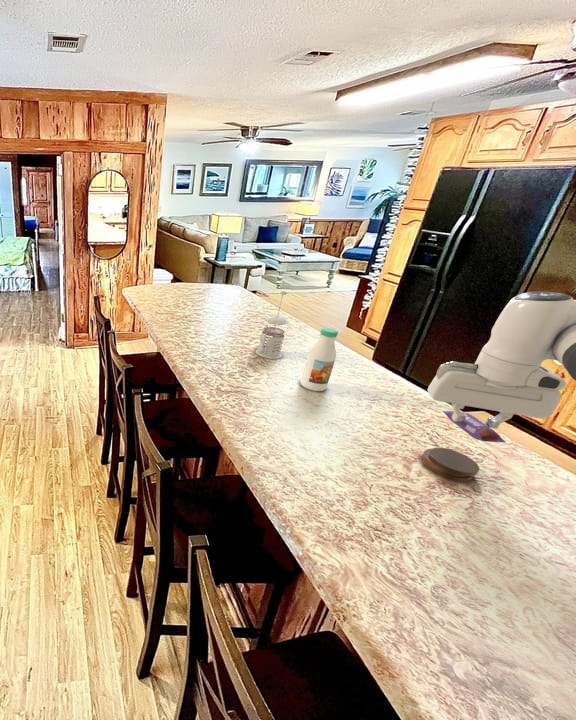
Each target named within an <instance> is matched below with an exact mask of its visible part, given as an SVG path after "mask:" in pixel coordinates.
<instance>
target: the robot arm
mask: <svg viewBox="0 0 576 720" xmlns="http://www.w3.org/2000/svg"><path fill="white" fill-rule="evenodd" d="M546 360H553V361H558V362H559V363H560V364H561V365H562V366H563V368H564V369H565V370H566V372H567V373H568V374H569V376H570V377H571V379H573V381H575V382H576V300H574V299H573V297H572V296H571V295H569V294H566V293H563V292H562V293H561V292H555V291H554V292H553V291H543V290H542V291H537V290H536V291H528V292H523V293H520V294H516V296H514V297H512V298H511V299H510V300H509V301H508V303H507V304H506V305H505V307H504V308H503V310H502V311H501V312H500V313H499V316H498V317H497V319H496V321H495V323H494V325H493V326H492V328H491V332H490V338H489V340H488V341H487V343H485V344H484V345H483V347H482V348H481V350H480V352H479V354H478V356H477V358H476V360H475V362H474V363H469V362H460V361H455V360H454V361H453V360H452V361H449V362H445V363H442V364H440V365H439V367H438V368H437V371H436V372H435V373H436V375H435V376H434V378H433V379H432V381H431V382H430V383H429V385H428V388H427V392H428V395H429V396H430V398H432V399H433V400H434V401H437V402H443V403H446V404H447V403H448V404H451V407H452V409H453V410H452V411H453V412H454V413H453V415H452V419H453V421H457V422H463V419H465V417H466V416H465V415H463V413H462V412H463V411H461V410H463V409H464V408H465V407H470V408H471V407H472V408H478V409H483V410H489V411H495V412H499V413H498V414H497V415H495V416H493V417H492V416H491V417H490V416H488V417H487V419H486V421H485V423H484V424H485V425H486V426H488V427H489V428H491V429H496V430H497V429H498V428H499V427H500V425H501V424H503V423H505V422H506V421H509V420H510V419H512V418H513V416H514V415H518V416H523V417H527V418H528V417H529V418H536V419H541V420H544V419H547V418H549V417H551V416H552V415H553V413H554V411H555V410H556V409H557V407H558V405H559V404H560V401H561V398H562V394H561V391H562V390H563V389H565V387H566V386H567V384H568V383H567V381H566V380H565V379H563V378H562V377H561V376H560V375H558V374H557V373H555V372H554V371H552V370H550V369H548V368H546V367H545V366H542V363H543V362H544V361H546Z"/></svg>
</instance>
